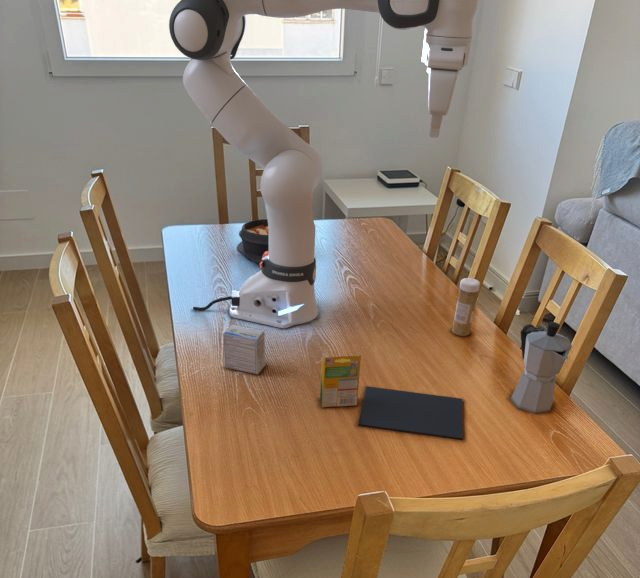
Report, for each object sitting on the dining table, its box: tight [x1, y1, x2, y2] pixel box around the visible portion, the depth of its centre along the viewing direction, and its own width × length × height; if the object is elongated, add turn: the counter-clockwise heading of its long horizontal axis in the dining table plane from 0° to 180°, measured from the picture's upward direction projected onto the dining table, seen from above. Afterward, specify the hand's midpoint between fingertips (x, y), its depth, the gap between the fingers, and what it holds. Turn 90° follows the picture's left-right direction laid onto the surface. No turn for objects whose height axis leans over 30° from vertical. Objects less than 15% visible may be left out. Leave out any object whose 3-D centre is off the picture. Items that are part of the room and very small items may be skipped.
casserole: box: [236, 218, 269, 264], centre depth 190 cm, size 25×19×8 cm
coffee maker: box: [509, 321, 573, 414], centre depth 127 cm, size 15×9×18 cm, turn 17°
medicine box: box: [222, 324, 266, 375], centre depth 135 cm, size 8×4×9 cm, turn 71°
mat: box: [357, 386, 464, 441], centre depth 127 cm, size 20×14×1 cm
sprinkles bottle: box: [451, 277, 481, 337], centre depth 152 cm, size 5×5×14 cm
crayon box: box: [319, 354, 362, 409], centre depth 125 cm, size 7×3×12 cm, turn 100°
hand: (434, 131), depth 128 cm, fingers open, 8 cm apart
